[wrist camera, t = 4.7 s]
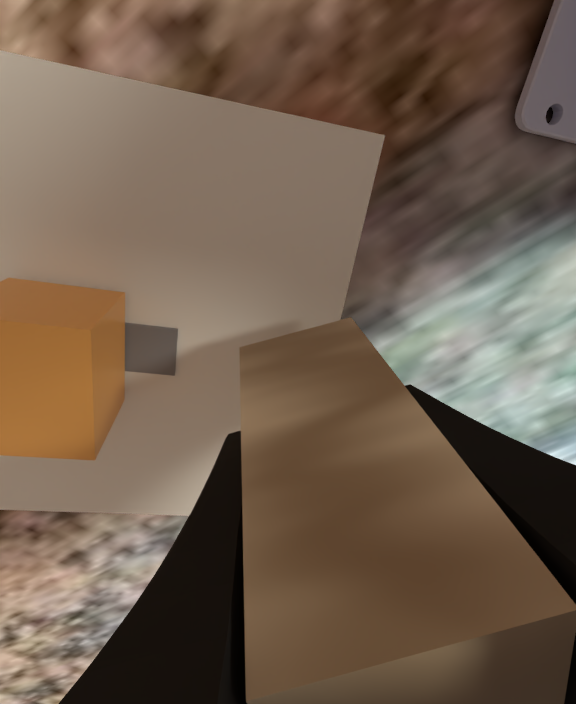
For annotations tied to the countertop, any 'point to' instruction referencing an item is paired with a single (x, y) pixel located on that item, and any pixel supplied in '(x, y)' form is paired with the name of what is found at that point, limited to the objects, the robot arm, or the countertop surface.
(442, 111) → the countertop surface
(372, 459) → the tall stone pillar
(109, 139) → the switch panel
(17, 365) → the block
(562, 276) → the countertop surface
